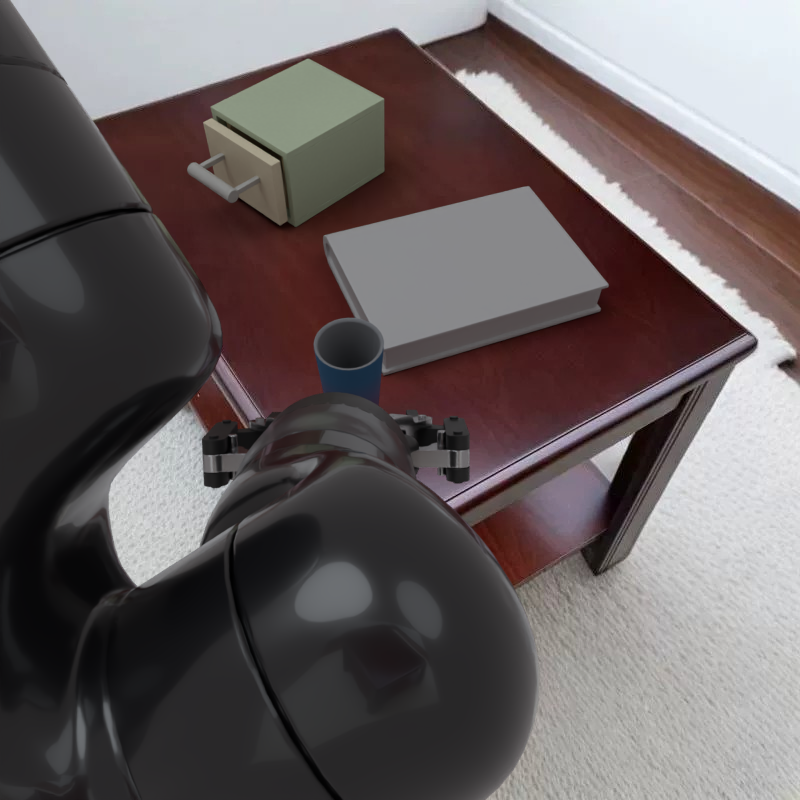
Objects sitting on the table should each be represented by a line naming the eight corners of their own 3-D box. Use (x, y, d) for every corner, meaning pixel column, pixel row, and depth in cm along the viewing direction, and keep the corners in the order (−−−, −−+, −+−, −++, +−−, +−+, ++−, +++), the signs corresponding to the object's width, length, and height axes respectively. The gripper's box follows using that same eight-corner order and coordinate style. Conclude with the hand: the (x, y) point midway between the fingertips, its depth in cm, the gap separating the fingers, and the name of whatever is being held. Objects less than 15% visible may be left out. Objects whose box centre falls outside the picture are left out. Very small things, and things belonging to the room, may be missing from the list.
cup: (347, 467, 64) (340, 381, 54) (312, 427, 66) (299, 338, 57) (396, 436, 66) (398, 347, 56) (360, 397, 68) (356, 307, 59)
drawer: (248, 245, 80) (236, 185, 73) (184, 199, 84) (168, 139, 78) (364, 173, 88) (363, 113, 82) (300, 135, 92) (294, 76, 86)
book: (609, 284, 73) (383, 349, 67) (600, 311, 76) (383, 376, 70) (523, 179, 83) (321, 228, 77) (519, 207, 86) (324, 255, 80)
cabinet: (295, 227, 83) (286, 153, 75) (225, 180, 88) (210, 106, 80) (384, 171, 90) (384, 98, 82) (314, 130, 95) (308, 58, 87)
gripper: (495, 401, 31) (454, 366, 47) (155, 407, 30) (231, 370, 47) (494, 571, 32) (454, 480, 48) (165, 579, 31) (236, 485, 48)
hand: (344, 426), depth 47 cm, fingers open, 8 cm apart
